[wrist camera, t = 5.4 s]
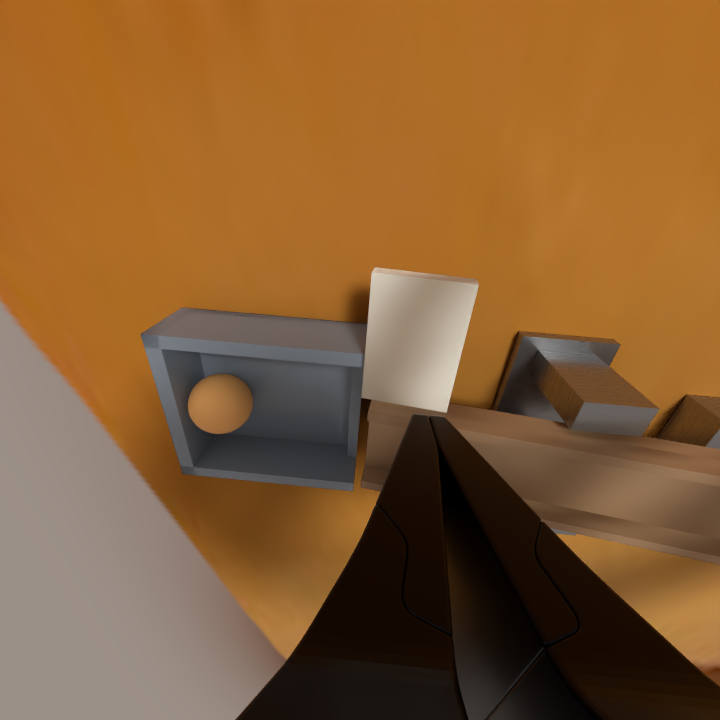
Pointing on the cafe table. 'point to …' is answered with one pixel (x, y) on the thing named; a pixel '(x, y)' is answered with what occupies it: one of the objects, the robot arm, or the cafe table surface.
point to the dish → (265, 394)
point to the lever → (528, 432)
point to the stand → (593, 392)
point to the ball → (220, 403)
